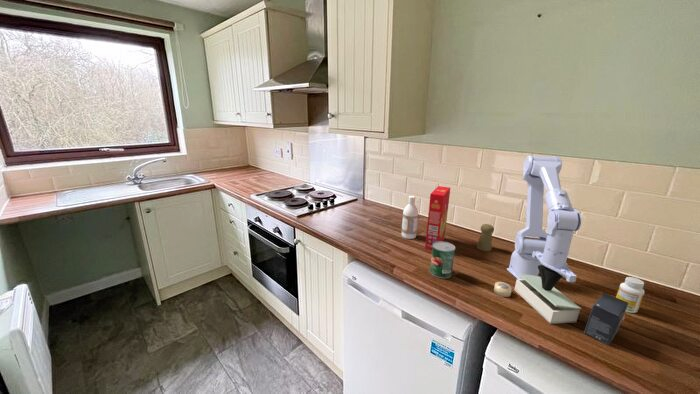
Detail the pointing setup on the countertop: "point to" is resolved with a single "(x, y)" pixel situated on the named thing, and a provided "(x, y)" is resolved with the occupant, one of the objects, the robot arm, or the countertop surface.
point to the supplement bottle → (631, 293)
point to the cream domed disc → (502, 289)
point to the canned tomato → (442, 259)
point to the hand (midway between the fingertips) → (546, 289)
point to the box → (606, 318)
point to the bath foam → (410, 219)
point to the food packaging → (437, 216)
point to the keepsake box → (545, 304)
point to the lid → (550, 293)
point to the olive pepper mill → (485, 238)
